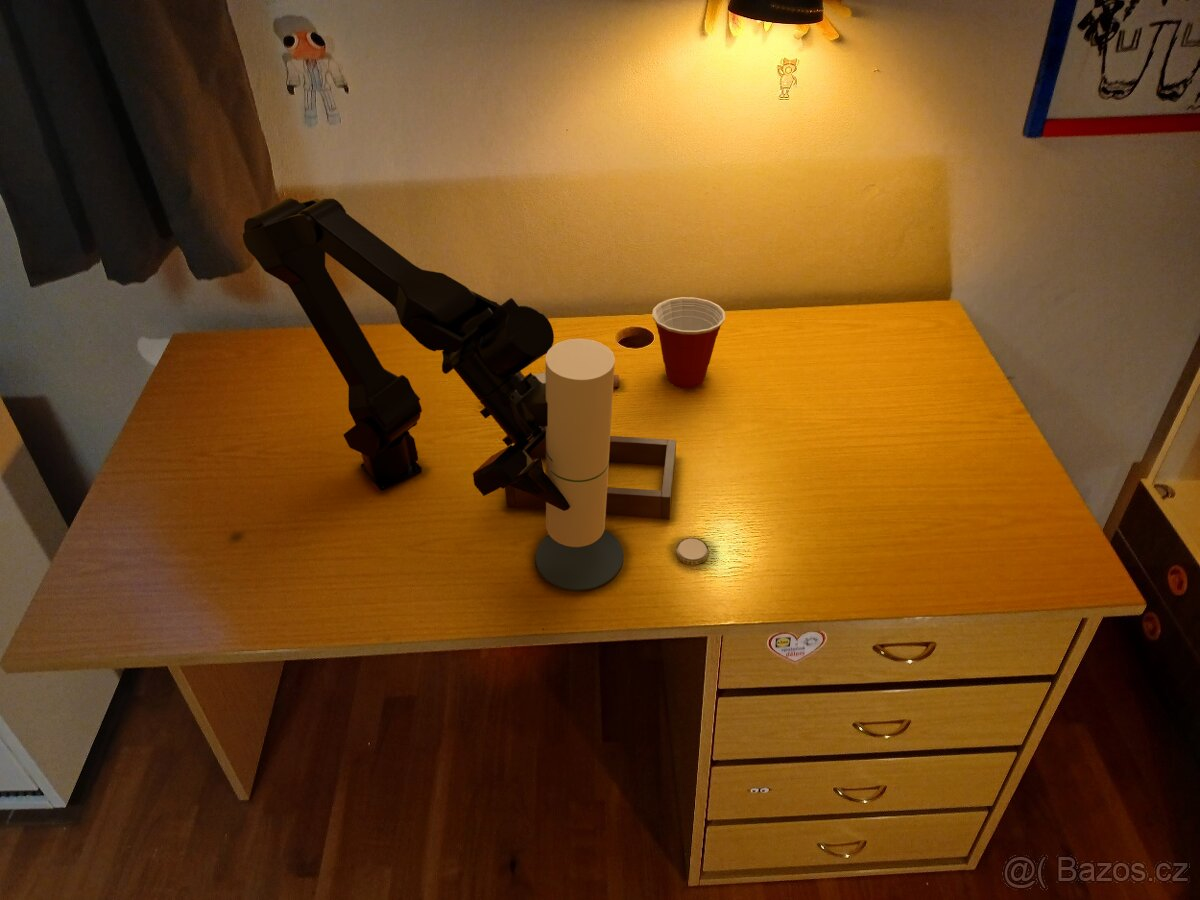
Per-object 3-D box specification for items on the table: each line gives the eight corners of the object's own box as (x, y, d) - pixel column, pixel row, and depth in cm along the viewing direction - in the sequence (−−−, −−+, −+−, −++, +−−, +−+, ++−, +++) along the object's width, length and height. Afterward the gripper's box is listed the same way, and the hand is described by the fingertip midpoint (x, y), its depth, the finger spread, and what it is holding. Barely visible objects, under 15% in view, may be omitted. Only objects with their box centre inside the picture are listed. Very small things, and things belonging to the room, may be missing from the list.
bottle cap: (702, 567, 112) (703, 564, 111) (672, 559, 113) (672, 556, 113) (712, 545, 115) (712, 541, 114) (681, 537, 116) (681, 534, 115)
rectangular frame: (507, 507, 121) (504, 485, 118) (523, 451, 129) (521, 429, 127) (669, 519, 118) (670, 497, 116) (675, 461, 127) (676, 439, 124)
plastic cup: (726, 362, 144) (731, 297, 137) (714, 403, 137) (719, 336, 129) (659, 353, 147) (660, 288, 139) (643, 392, 139) (644, 326, 131)
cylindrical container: (589, 497, 114) (596, 332, 97) (614, 536, 109) (626, 369, 93) (537, 513, 112) (534, 347, 95) (560, 554, 107) (562, 386, 90)
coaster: (570, 606, 108) (570, 604, 108) (518, 552, 115) (518, 550, 114) (641, 562, 113) (641, 560, 113) (588, 513, 120) (588, 511, 119)
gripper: (483, 406, 91) (579, 525, 93) (585, 317, 102) (668, 425, 105) (433, 439, 99) (522, 547, 102) (533, 354, 111) (610, 453, 114)
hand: (583, 491), depth 105 cm, fingers closed on cylindrical container, 6 cm apart
